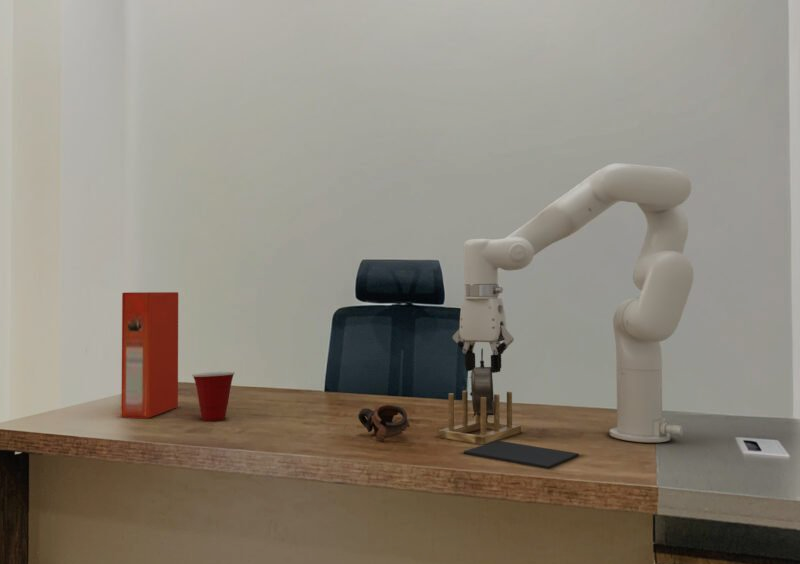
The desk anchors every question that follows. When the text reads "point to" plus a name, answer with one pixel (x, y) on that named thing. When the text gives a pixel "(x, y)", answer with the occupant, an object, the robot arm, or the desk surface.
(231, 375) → the plastic cup
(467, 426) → the dowel rack
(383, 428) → the pottery mug
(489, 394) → the alarm clock
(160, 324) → the file binder
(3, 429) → the desk surface
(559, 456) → the desk mat
